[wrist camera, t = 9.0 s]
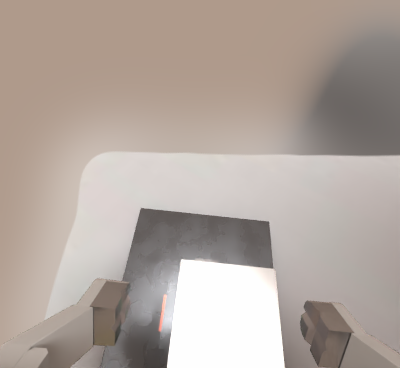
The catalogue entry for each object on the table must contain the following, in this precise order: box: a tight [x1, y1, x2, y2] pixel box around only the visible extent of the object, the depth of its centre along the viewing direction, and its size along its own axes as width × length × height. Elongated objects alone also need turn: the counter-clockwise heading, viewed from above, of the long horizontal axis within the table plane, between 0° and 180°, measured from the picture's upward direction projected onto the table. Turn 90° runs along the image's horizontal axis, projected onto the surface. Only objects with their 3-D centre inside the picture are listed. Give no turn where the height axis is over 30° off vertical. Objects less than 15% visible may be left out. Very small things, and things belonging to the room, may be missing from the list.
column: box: [167, 259, 284, 368], centre depth 13 cm, size 4×4×14 cm
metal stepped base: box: [100, 208, 273, 368], centre depth 20 cm, size 24×18×10 cm
